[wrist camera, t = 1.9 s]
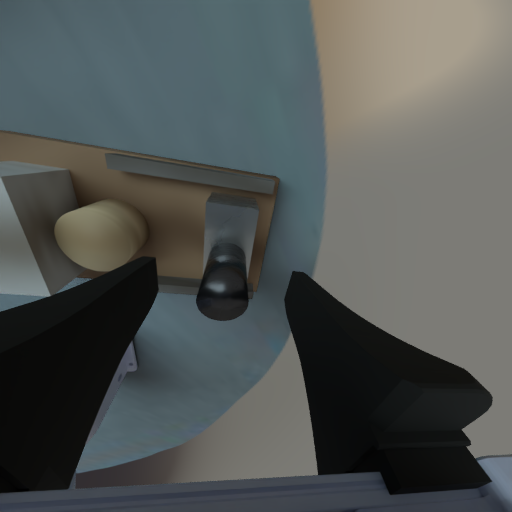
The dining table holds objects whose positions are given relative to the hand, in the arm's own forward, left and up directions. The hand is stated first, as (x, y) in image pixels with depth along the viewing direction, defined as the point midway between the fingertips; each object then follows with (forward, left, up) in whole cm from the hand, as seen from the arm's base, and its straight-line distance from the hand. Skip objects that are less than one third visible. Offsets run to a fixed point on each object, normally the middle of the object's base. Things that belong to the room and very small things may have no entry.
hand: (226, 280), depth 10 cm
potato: (0, +8, -6) cm, 10 cm away
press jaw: (0, 0, -5) cm, 5 cm away
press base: (0, +6, -7) cm, 9 cm away
